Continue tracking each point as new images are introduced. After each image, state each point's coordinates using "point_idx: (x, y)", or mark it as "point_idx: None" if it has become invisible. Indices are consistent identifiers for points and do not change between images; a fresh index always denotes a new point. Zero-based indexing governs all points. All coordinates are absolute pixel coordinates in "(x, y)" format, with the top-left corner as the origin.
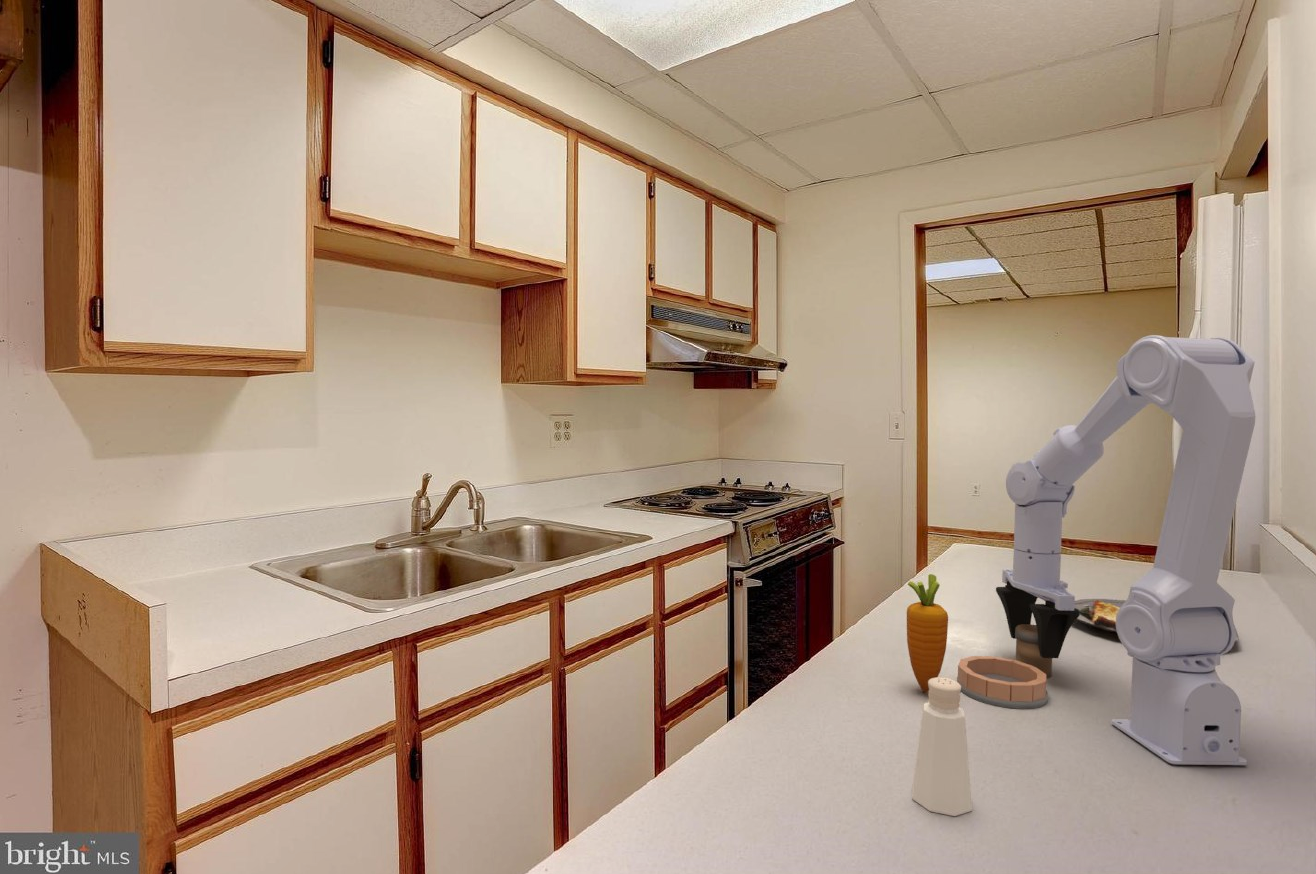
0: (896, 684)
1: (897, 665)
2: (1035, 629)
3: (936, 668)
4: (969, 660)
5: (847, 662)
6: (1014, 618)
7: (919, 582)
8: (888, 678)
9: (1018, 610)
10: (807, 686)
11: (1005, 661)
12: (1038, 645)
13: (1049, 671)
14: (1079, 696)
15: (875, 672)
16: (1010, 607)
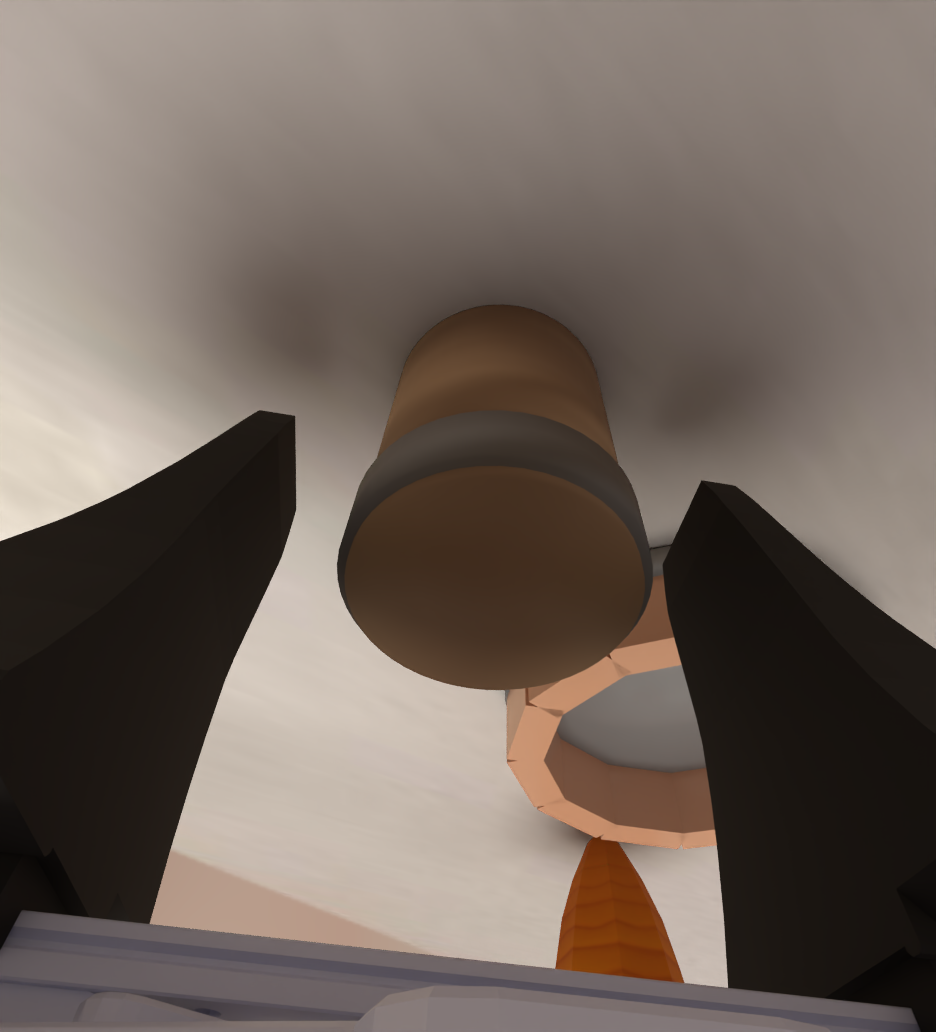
0: (524, 854)
1: (366, 803)
2: (505, 599)
3: (665, 935)
4: (555, 792)
5: (337, 875)
6: (234, 618)
7: None
8: (475, 852)
9: (198, 655)
10: (496, 956)
11: (598, 687)
12: (676, 637)
13: (599, 386)
14: (883, 407)
15: (424, 857)
16: (194, 734)
